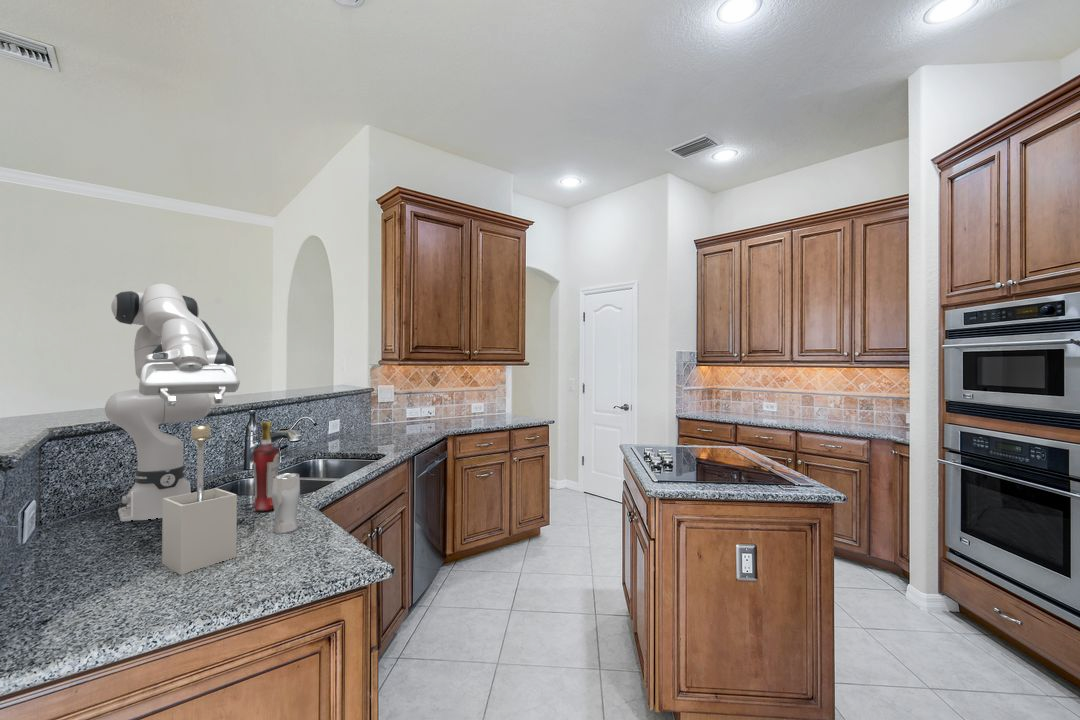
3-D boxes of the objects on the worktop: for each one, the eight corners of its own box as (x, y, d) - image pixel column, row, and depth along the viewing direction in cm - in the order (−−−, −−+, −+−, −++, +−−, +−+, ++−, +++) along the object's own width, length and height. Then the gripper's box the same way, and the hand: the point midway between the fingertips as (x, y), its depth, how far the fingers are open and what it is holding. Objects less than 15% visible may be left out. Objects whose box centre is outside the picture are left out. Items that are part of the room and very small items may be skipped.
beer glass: (287, 534, 124) (287, 479, 124) (265, 533, 125) (265, 478, 126) (305, 526, 131) (305, 473, 131) (284, 524, 132) (284, 472, 133)
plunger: (170, 510, 107) (171, 427, 107) (213, 501, 114) (213, 423, 114) (185, 517, 102) (186, 429, 102) (228, 507, 109) (229, 425, 109)
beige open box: (162, 563, 106) (162, 498, 106) (216, 547, 115) (216, 488, 116) (180, 575, 100) (181, 506, 100) (236, 557, 109) (236, 494, 109)
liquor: (259, 506, 150) (260, 421, 150) (283, 505, 151) (283, 420, 151) (247, 513, 142) (248, 423, 143) (272, 512, 143) (273, 423, 144)
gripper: (232, 372, 128) (242, 408, 121) (135, 373, 113) (140, 415, 106) (236, 356, 125) (247, 392, 119) (137, 354, 110) (143, 396, 103)
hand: (196, 403), depth 112 cm, fingers open, 8 cm apart
